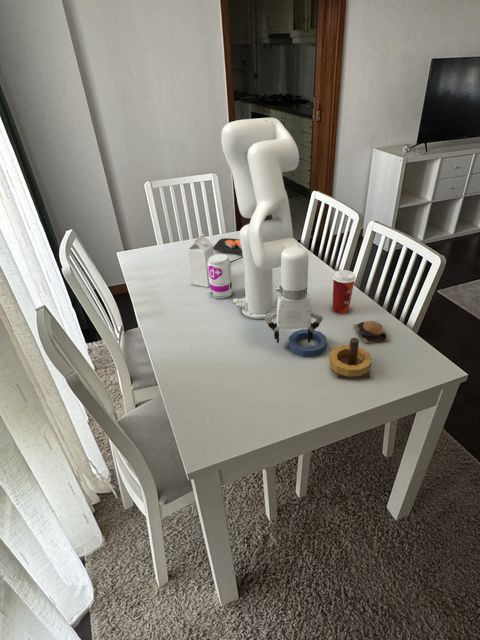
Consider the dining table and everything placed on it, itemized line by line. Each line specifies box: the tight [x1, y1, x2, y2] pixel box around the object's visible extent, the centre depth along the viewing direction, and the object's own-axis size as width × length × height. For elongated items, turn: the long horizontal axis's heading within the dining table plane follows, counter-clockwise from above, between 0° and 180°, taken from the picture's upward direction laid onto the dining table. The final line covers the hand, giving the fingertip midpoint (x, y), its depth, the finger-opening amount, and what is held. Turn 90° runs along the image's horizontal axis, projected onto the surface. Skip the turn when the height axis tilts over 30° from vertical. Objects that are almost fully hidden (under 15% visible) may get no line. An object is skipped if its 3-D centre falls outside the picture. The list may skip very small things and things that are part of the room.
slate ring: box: [288, 328, 328, 358], centre depth 128 cm, size 12×12×2 cm
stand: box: [335, 337, 371, 379], centre depth 116 cm, size 9×9×10 cm
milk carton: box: [187, 233, 215, 288], centre depth 160 cm, size 7×7×19 cm
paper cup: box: [332, 269, 356, 315], centre depth 142 cm, size 8×8×14 cm
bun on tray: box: [355, 320, 389, 344], centre depth 132 cm, size 11×8×4 cm
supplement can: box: [207, 253, 233, 299], centre depth 153 cm, size 8×8×15 cm
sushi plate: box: [213, 237, 243, 264], centre depth 185 cm, size 29×30×4 cm
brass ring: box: [328, 344, 373, 377], centre depth 118 cm, size 12×12×2 cm
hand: (293, 340), depth 127 cm, fingers open, 9 cm apart
